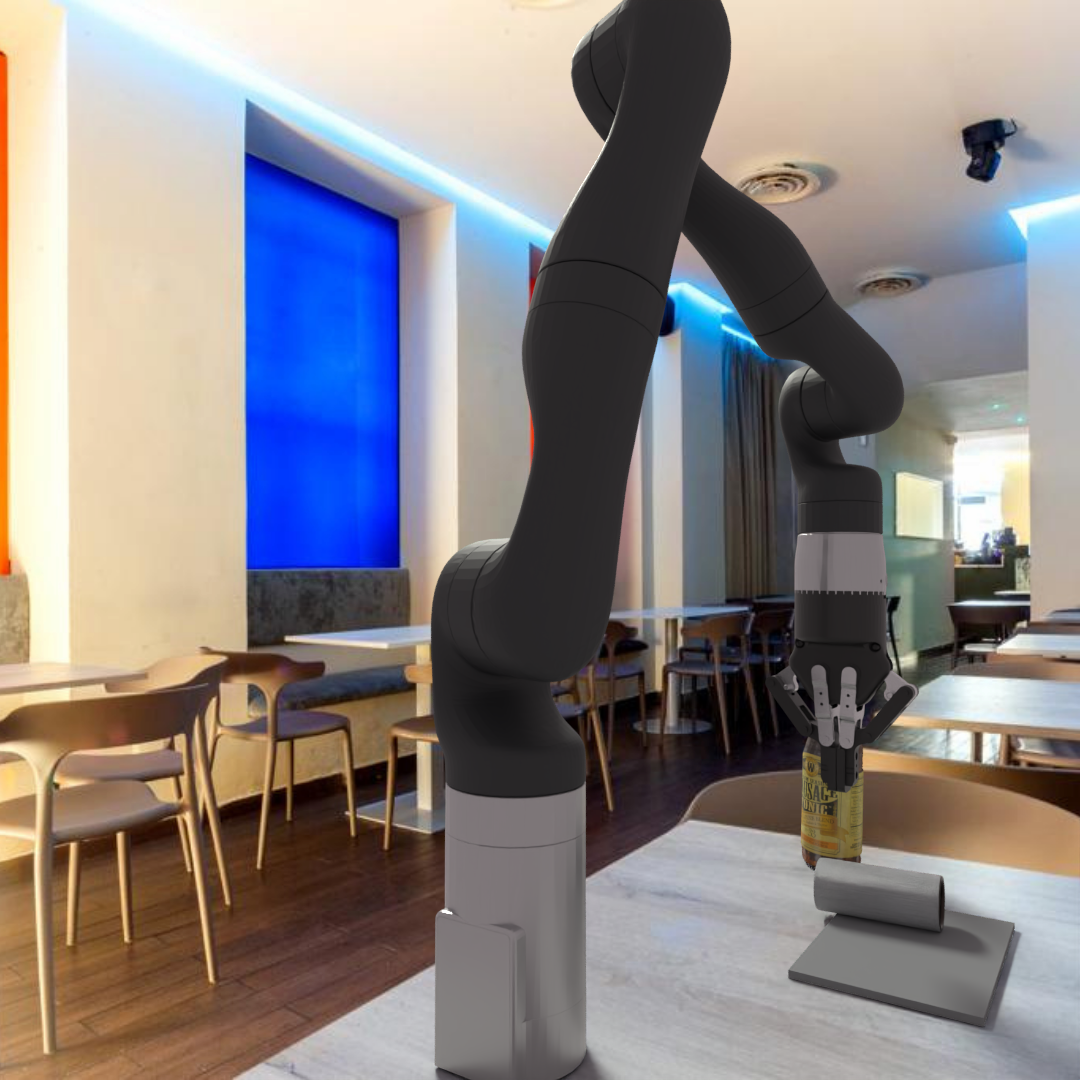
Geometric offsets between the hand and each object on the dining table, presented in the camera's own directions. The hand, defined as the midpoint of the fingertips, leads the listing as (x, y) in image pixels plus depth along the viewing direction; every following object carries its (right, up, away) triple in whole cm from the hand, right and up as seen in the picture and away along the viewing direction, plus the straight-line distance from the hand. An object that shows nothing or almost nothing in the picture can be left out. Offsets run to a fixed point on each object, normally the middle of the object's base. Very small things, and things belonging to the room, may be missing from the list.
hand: (840, 790), depth 76 cm
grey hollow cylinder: (0, -10, +5) cm, 11 cm away
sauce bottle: (+6, -14, +19) cm, 24 cm away
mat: (+5, -12, -3) cm, 14 cm away
